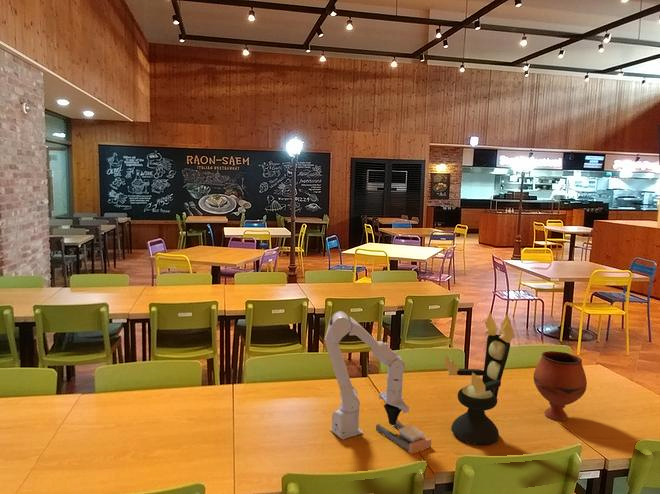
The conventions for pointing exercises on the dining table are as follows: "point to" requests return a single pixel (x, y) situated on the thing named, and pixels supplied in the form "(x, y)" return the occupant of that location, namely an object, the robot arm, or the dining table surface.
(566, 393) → the goblet
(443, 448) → the dining table surface
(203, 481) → the dining table surface
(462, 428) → the spiked throne chair
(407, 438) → the lock block
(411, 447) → the guide rails
